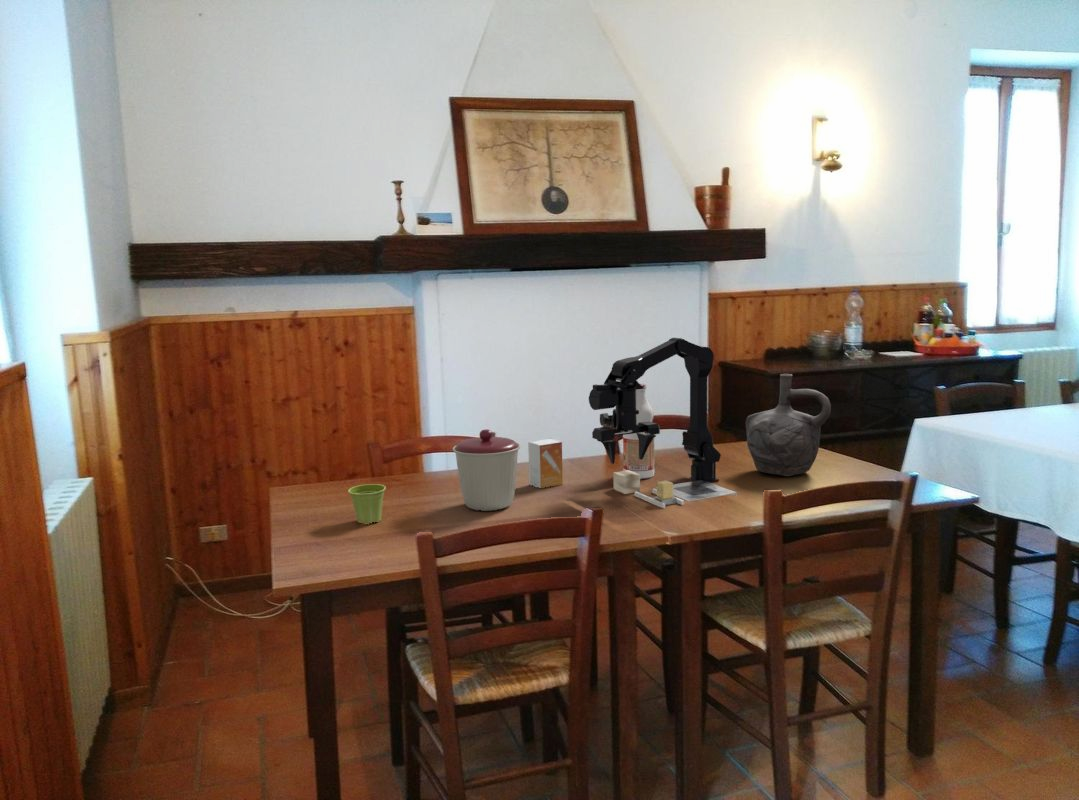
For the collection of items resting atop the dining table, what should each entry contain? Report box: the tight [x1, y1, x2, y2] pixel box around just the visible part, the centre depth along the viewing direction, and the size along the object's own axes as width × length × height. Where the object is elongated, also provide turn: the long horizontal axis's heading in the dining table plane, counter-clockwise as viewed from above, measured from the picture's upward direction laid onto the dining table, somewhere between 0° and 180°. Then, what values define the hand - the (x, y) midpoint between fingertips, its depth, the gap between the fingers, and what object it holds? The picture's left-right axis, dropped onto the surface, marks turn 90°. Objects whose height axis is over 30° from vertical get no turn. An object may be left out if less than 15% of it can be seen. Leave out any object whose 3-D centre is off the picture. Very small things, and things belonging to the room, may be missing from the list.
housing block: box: [613, 470, 641, 495], centre depth 230 cm, size 5×6×6 cm
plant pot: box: [347, 483, 387, 524], centre depth 211 cm, size 9×9×9 cm
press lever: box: [653, 480, 677, 506], centre depth 216 cm, size 4×4×6 cm
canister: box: [452, 429, 521, 512], centre depth 221 cm, size 18×18×21 cm
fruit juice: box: [622, 383, 655, 480], centre depth 249 cm, size 9×9×28 cm
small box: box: [527, 438, 564, 489], centre depth 242 cm, size 8×6×13 cm
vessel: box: [745, 373, 832, 477], centre depth 246 cm, size 24×22×30 cm
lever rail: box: [634, 488, 685, 509], centre depth 220 cm, size 7×14×2 cm, turn 25°
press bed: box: [654, 480, 738, 502], centre depth 228 cm, size 16×16×1 cm
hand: (626, 461), depth 229 cm, fingers open, 9 cm apart
